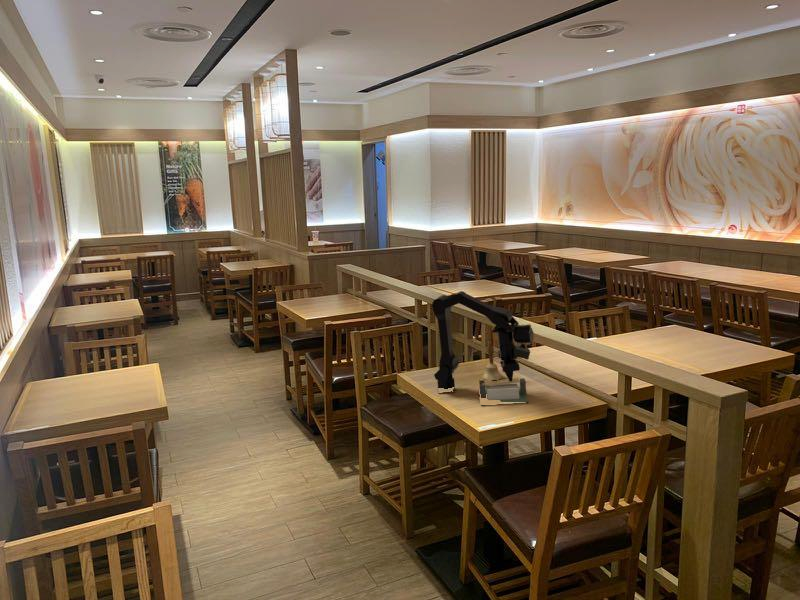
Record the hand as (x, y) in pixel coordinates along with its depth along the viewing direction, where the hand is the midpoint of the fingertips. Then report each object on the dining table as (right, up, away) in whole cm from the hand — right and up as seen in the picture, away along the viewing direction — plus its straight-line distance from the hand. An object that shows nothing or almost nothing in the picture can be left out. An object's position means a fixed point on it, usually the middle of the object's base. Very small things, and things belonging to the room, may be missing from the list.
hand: (510, 380), depth 231 cm
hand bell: (-4, -2, +23) cm, 23 cm away
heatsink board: (-3, -7, +2) cm, 8 cm away
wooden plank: (-4, -1, +1) cm, 4 cm away
